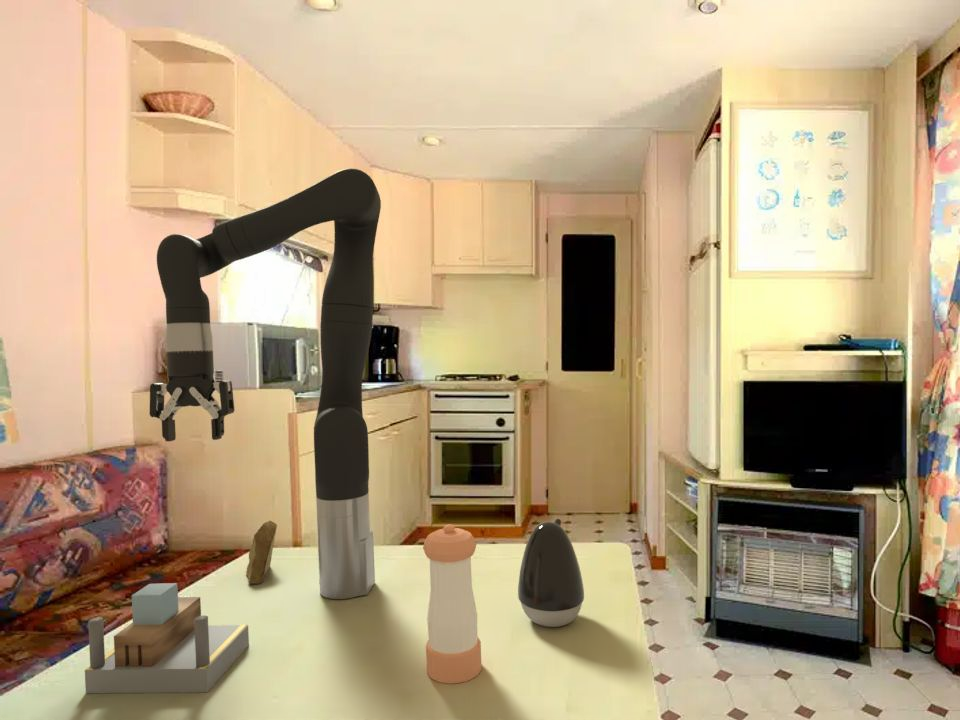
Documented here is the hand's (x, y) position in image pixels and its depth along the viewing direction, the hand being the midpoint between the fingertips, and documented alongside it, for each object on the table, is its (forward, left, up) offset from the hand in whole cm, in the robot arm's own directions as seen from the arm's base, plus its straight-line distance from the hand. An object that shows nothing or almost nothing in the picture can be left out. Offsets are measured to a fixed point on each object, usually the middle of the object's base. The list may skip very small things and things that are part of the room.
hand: (193, 440), depth 105 cm
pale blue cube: (-7, +24, -21) cm, 33 cm away
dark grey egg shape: (-62, +11, -28) cm, 69 cm away
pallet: (-7, +23, -25) cm, 35 cm away
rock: (-6, -10, -28) cm, 31 cm away
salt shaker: (-48, +25, -28) cm, 61 cm away
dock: (-9, +24, -28) cm, 38 cm away
